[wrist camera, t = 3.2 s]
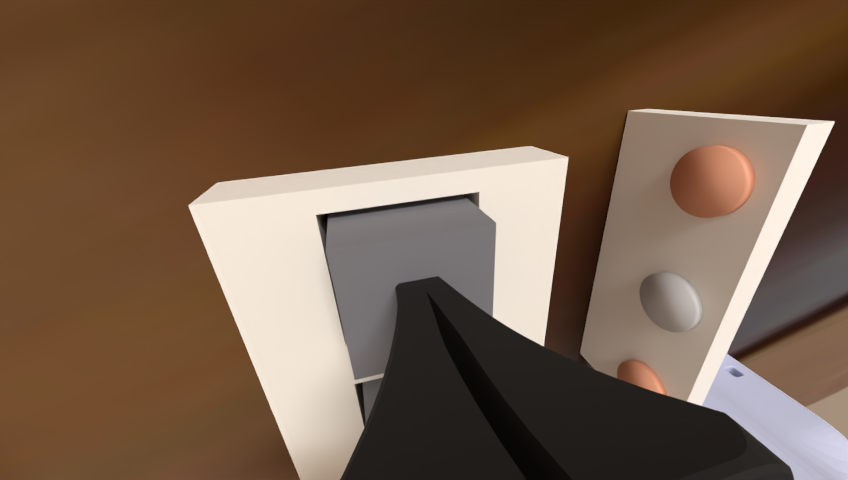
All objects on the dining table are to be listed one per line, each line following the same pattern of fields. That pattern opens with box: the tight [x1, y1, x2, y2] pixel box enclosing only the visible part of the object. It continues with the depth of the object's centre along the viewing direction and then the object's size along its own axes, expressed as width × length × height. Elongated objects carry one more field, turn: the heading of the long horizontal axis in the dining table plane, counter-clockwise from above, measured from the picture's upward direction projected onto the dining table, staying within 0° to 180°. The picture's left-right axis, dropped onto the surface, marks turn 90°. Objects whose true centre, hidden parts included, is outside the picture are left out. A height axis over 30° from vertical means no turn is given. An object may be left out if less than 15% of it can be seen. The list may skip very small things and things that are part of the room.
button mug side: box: [325, 194, 496, 380], centre depth 11 cm, size 5×5×3 cm
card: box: [580, 109, 835, 406], centre depth 14 cm, size 1×14×6 cm, turn 4°
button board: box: [188, 146, 568, 480], centre depth 16 cm, size 12×22×2 cm, turn 4°
